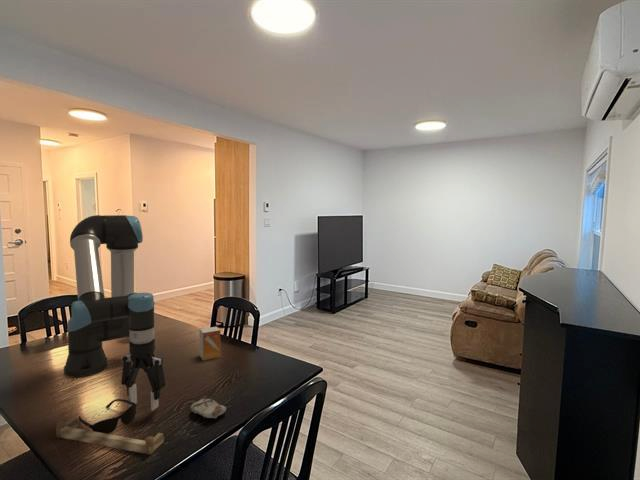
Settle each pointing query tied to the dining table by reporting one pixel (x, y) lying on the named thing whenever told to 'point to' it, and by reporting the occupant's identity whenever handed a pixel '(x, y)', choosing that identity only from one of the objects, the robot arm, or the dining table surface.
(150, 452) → the beige long bar
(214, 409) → the stone
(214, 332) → the small box
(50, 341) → the dining table surface
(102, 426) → the sunglasses
